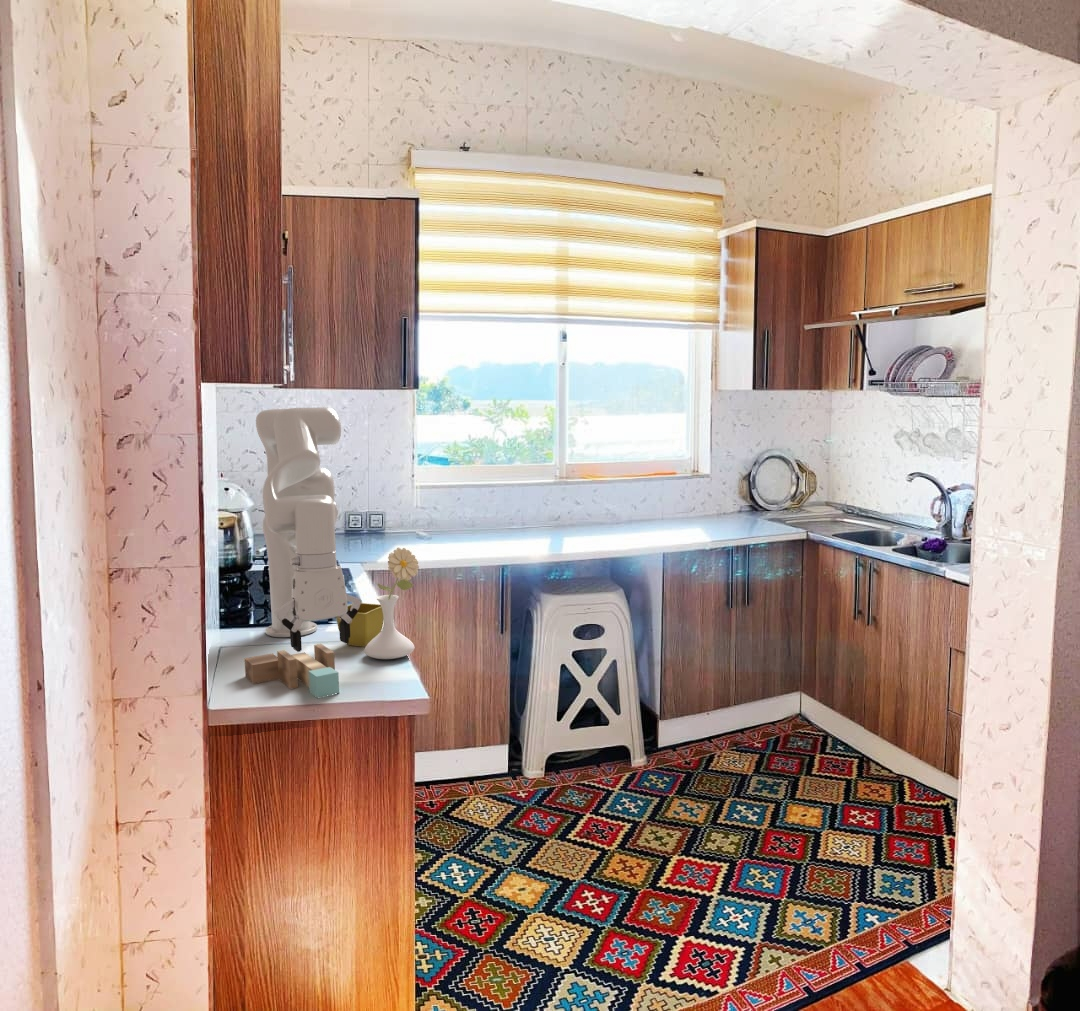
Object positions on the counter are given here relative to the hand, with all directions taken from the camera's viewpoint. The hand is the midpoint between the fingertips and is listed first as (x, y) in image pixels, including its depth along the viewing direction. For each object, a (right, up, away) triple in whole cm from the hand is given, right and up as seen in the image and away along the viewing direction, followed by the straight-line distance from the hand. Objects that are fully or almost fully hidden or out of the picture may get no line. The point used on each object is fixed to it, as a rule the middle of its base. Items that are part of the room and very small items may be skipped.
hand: (321, 646), depth 171 cm
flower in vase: (+10, -7, +26) cm, 29 cm away
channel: (-6, -9, +10) cm, 14 cm away
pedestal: (-15, -9, +12) cm, 21 cm away
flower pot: (0, -6, +36) cm, 37 cm away
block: (0, -10, +1) cm, 10 cm away
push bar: (-5, -9, +9) cm, 13 cm away
